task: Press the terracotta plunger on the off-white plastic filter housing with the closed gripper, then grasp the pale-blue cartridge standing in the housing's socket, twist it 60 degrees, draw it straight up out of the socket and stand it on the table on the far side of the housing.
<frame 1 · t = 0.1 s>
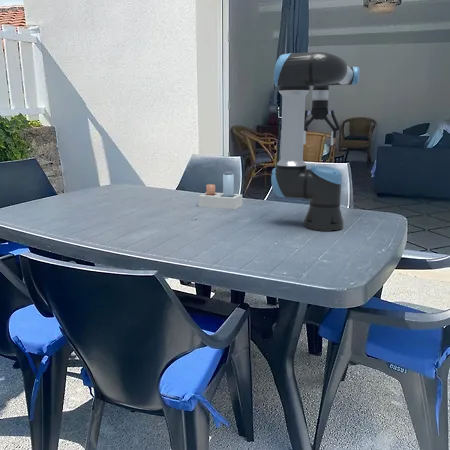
hand: (317, 144, 210), 28 cm above the table, fingers open, 13 cm apart
plunger: (210, 190, 202), point 8 cm above the table, slide at 0.0 cm
cartridge: (228, 206, 200), point 1 cm above the table, touching housing
housing: (220, 207, 202), on the table
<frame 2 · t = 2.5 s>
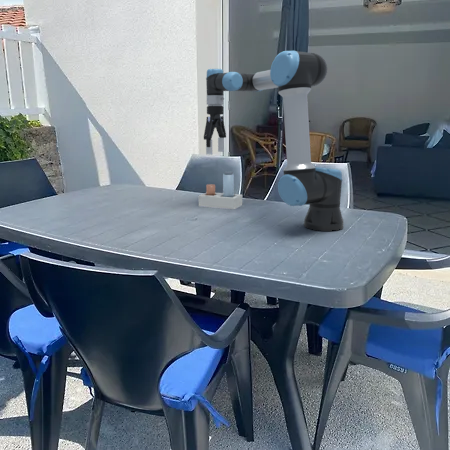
hand: (215, 153, 198), 25 cm above the table, fingers open, 13 cm apart
nothing on the table moved.
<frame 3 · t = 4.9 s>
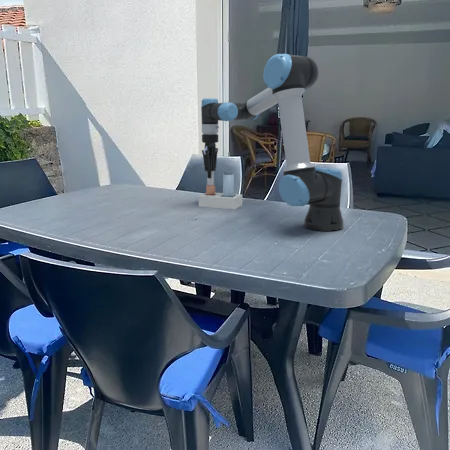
hand: (210, 184, 201), 11 cm above the table, fingers closed
plunger: (210, 191, 202), point 8 cm above the table, slide at 0.2 cm, touching gripper
everything else where it was.
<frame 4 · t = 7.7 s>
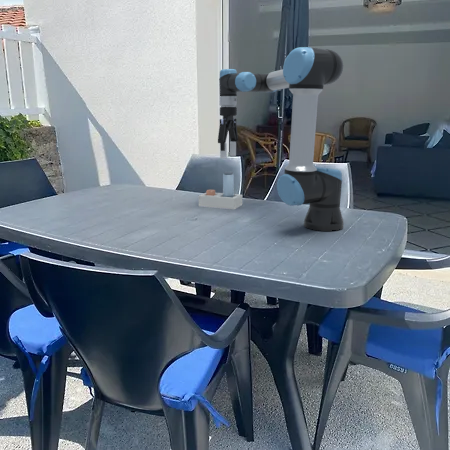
hand: (228, 157, 194), 24 cm above the table, fingers open, 10 cm apart
plunger: (210, 196, 202), point 5 cm above the table, slide at 2.6 cm
everything else where it was.
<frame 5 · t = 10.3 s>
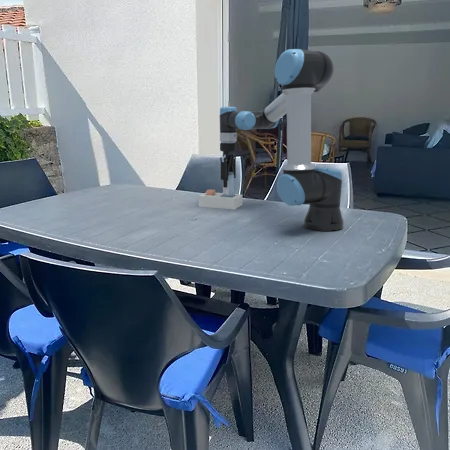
hand: (228, 193, 198), 7 cm above the table, fingers closed on cartridge, 5 cm apart
cartridge: (228, 206, 200), point 1 cm above the table, touching gripper, housing
everything else where it was.
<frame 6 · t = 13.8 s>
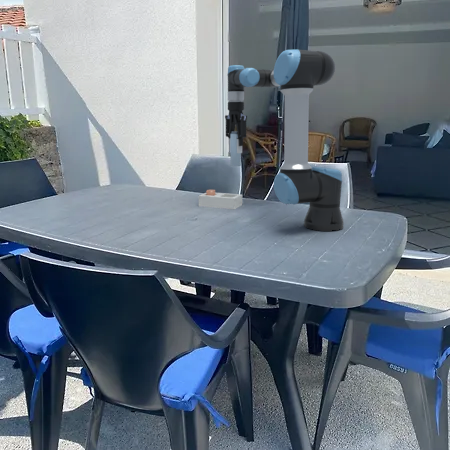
hand: (235, 152, 202), 25 cm above the table, fingers closed on cartridge, 5 cm apart
cartridge: (235, 165, 204), point 19 cm above the table, touching gripper
everything else where it was.
when the fingers open (8 cm above the table, at t = 17.5 s): cartridge drops 1 cm, on the table.
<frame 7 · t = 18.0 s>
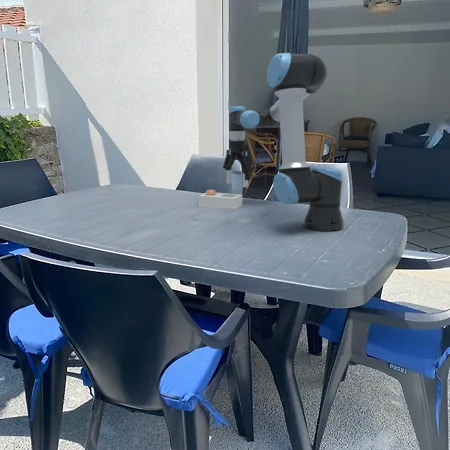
hand: (237, 185, 207), 9 cm above the table, fingers open, 12 cm apart
cartridge: (237, 203, 210), on the table
everything else where it was.
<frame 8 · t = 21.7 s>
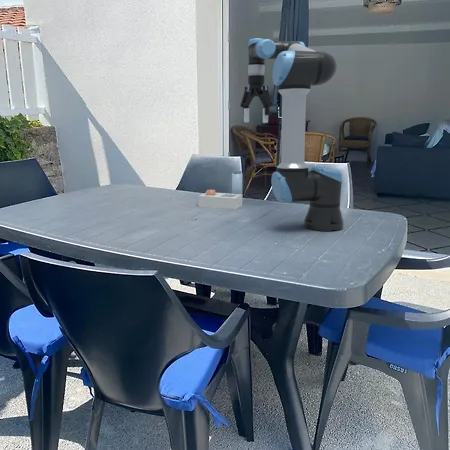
hand: (255, 122, 203), 39 cm above the table, fingers open, 13 cm apart
nothing on the table moved.
at the end: plunger slide at 2.6 cm; cartridge inside the target area (0.1 cm from its centre), on the table; cartridge tilted 0° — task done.
